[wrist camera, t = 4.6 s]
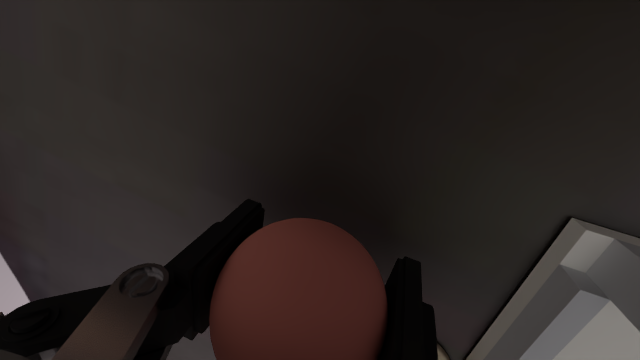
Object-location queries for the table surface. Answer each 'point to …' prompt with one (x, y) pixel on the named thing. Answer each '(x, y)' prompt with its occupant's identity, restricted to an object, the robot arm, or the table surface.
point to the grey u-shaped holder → (573, 302)
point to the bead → (299, 296)
